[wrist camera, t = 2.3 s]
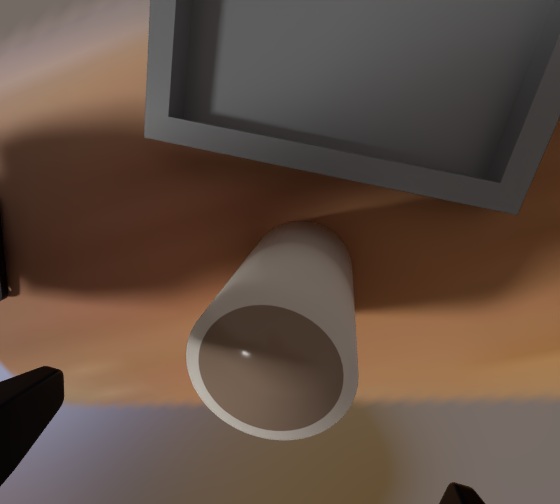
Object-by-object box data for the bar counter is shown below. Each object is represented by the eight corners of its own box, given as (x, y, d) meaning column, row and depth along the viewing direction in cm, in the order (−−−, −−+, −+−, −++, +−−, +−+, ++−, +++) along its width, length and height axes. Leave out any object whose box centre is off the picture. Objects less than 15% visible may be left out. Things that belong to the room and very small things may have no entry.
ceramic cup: (245, 301, 19) (179, 415, 11) (260, 210, 17) (194, 272, 9) (338, 324, 18) (334, 460, 11) (363, 234, 16) (380, 318, 9)
